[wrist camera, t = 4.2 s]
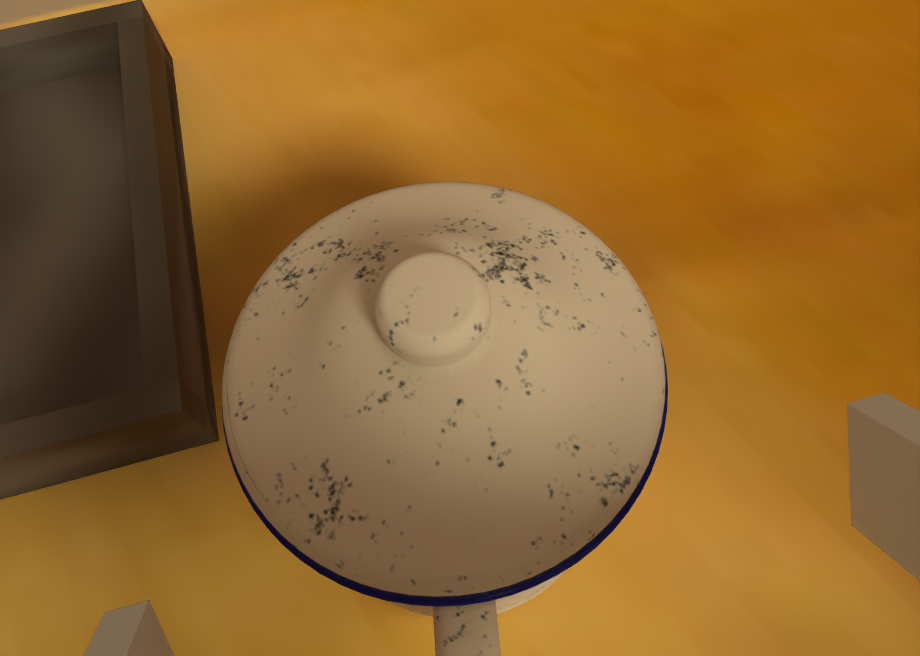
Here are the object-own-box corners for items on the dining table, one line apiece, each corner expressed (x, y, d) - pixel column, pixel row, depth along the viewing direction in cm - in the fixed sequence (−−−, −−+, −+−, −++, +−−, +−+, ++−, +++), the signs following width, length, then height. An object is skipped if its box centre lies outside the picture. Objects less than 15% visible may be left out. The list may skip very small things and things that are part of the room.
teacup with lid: (317, 354, 24) (180, 110, 13) (580, 329, 24) (649, 66, 13) (314, 762, 19) (84, 887, 8) (651, 730, 19) (859, 812, 8)
